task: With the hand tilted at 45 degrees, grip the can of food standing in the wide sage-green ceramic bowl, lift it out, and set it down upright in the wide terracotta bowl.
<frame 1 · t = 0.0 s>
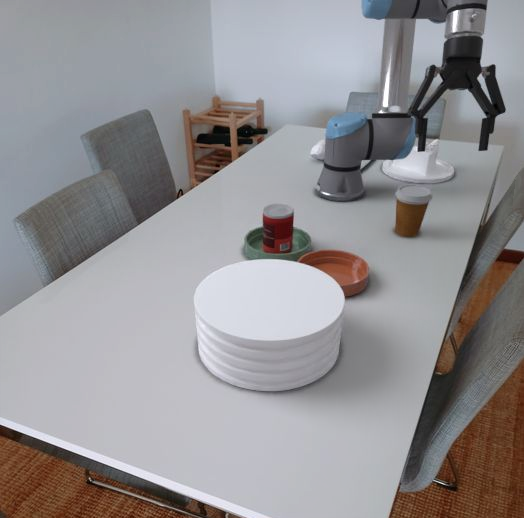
hand: (452, 151, 110), 28 cm above the table, tool tilted 20°, fingers open, 13 cm apart
plate stack: (268, 344, 102), on the table
terracotta bowl: (331, 279, 122), on the table
sage bowl: (277, 250, 133), on the table
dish: (417, 171, 181), on the table
canned food: (277, 250, 133), resting on sage bowl
disposable coffee cup: (406, 232, 142), on the table
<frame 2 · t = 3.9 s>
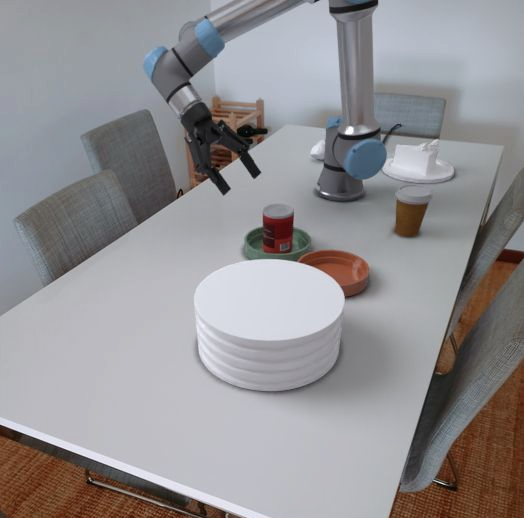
hand: (243, 184, 128), 16 cm above the table, tool tilted 45°, fingers open, 13 cm apart
nothing on the table moved.
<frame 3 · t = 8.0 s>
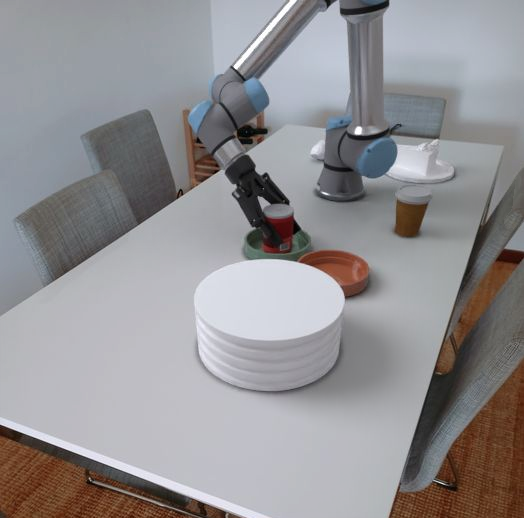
hand: (289, 238, 129), 4 cm above the table, tool tilted 45°, fingers closed on canned food, 8 cm apart
canned food: (277, 250, 133), resting on sage bowl, touching gripper
everything else where it was.
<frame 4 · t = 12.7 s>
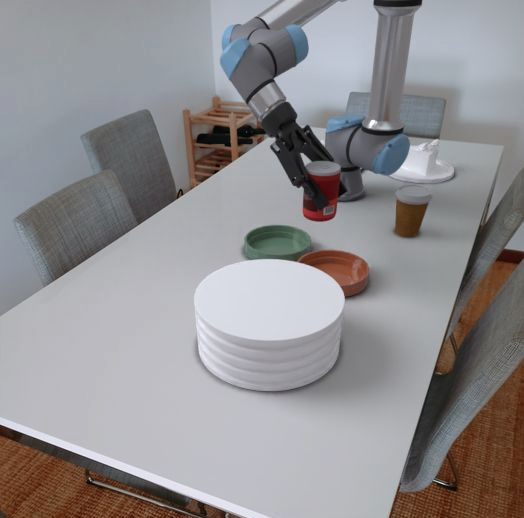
hand: (334, 200, 112), 19 cm above the table, tool tilted 45°, fingers closed on canned food, 8 cm apart
canned food: (319, 215, 116), point 14 cm above the table, touching gripper
everything else where it was.
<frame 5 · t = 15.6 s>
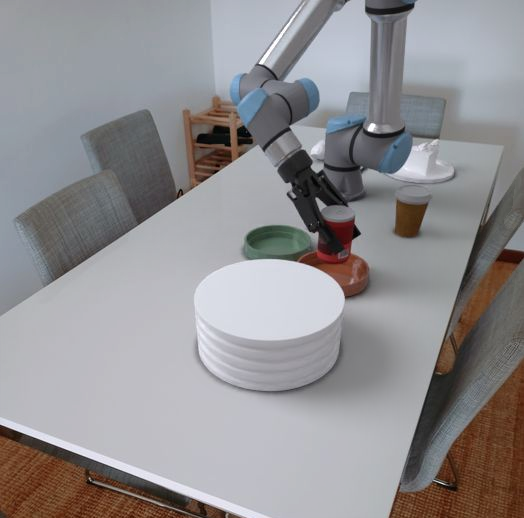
hand: (348, 244, 114), 10 cm above the table, tool tilted 45°, fingers closed on canned food, 8 cm apart
canned food: (333, 257, 118), point 6 cm above the table, touching gripper
everything else where it was.
when the fingers open (4 cm above the table, at t = 17.6 s): canned food stays where it is, resting on terracotta bowl.
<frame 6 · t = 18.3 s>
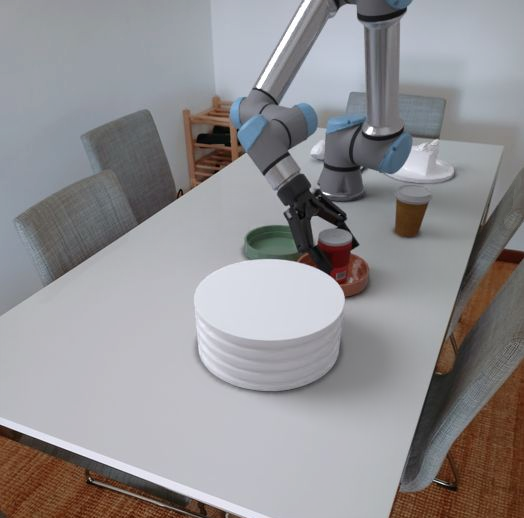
hand: (342, 259, 117), 6 cm above the table, tool tilted 45°, fingers open, 13 cm apart
canned food: (331, 278, 122), resting on terracotta bowl
everything else where it was.
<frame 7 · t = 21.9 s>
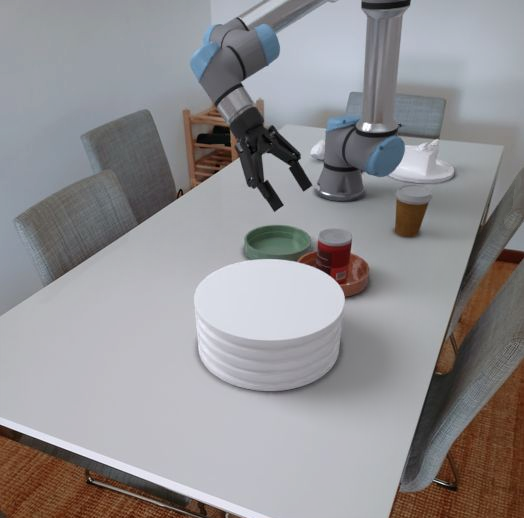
hand: (294, 198, 117), 17 cm above the table, tool tilted 40°, fingers open, 13 cm apart
nothing on the table moved.
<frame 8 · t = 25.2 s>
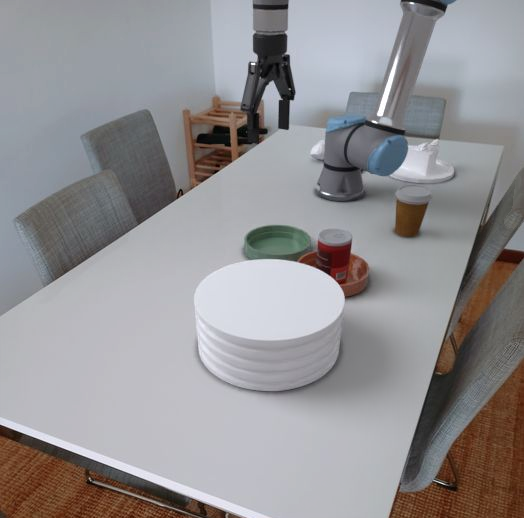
hand: (269, 135, 122), 27 cm above the table, tool pointing down, fingers open, 13 cm apart
nothing on the table moved.
at the end: canned food 0.1 cm off-centre in the terracotta bowl, point 0.1 cm above the terracotta bowl's base; canned food tilted 0°; the gripper is holding nothing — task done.
